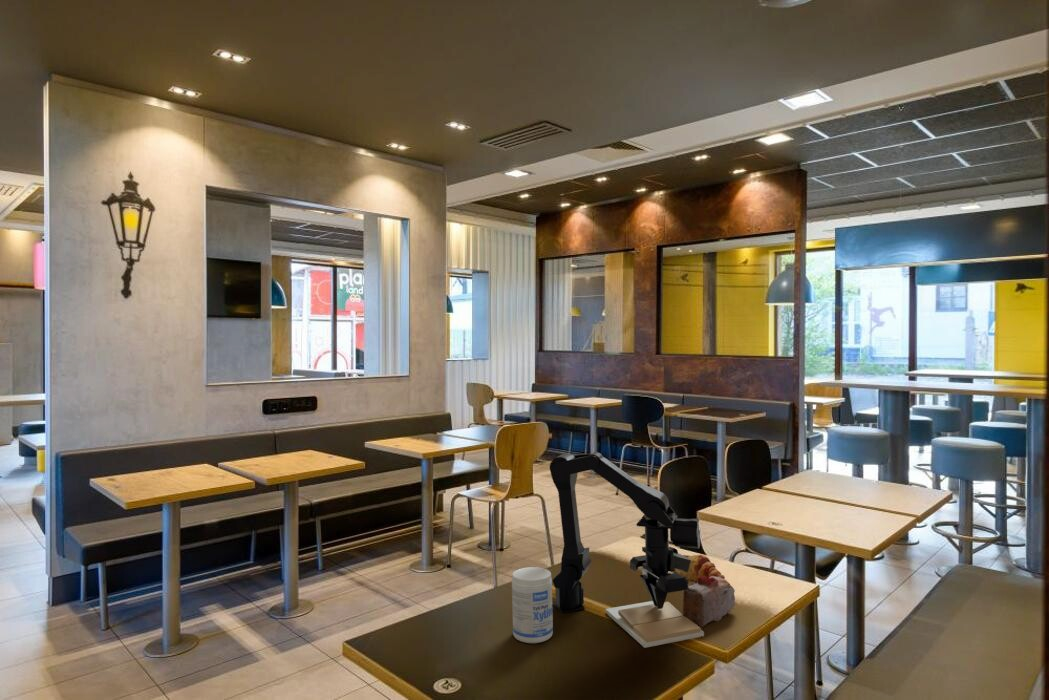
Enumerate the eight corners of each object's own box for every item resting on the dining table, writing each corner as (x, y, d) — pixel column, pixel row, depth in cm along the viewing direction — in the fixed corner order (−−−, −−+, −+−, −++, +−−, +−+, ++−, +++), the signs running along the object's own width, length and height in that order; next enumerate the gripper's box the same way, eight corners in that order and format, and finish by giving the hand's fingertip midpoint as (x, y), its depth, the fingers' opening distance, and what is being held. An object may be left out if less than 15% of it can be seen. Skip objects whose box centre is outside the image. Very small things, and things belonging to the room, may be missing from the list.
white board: (644, 647, 141) (644, 638, 141) (605, 612, 160) (605, 605, 160) (704, 636, 146) (703, 627, 146) (659, 603, 165) (659, 595, 165)
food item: (709, 604, 164) (708, 566, 164) (738, 613, 158) (737, 573, 158) (679, 620, 155) (678, 580, 155) (708, 630, 149) (707, 588, 149)
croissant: (664, 579, 191) (654, 558, 190) (685, 558, 196) (675, 537, 194) (718, 601, 173) (707, 578, 171) (739, 577, 177) (729, 554, 176)
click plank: (631, 628, 148) (631, 624, 148) (618, 614, 155) (618, 610, 155) (683, 619, 153) (683, 615, 153) (668, 605, 159) (668, 601, 159)
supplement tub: (541, 648, 142) (539, 583, 142) (505, 639, 147) (503, 577, 147) (560, 631, 151) (558, 569, 150) (525, 623, 155) (524, 564, 155)
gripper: (707, 551, 149) (708, 617, 149) (665, 530, 167) (667, 589, 167) (665, 557, 146) (667, 624, 146) (628, 535, 164) (629, 595, 164)
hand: (658, 607), depth 156 cm, fingers closed
